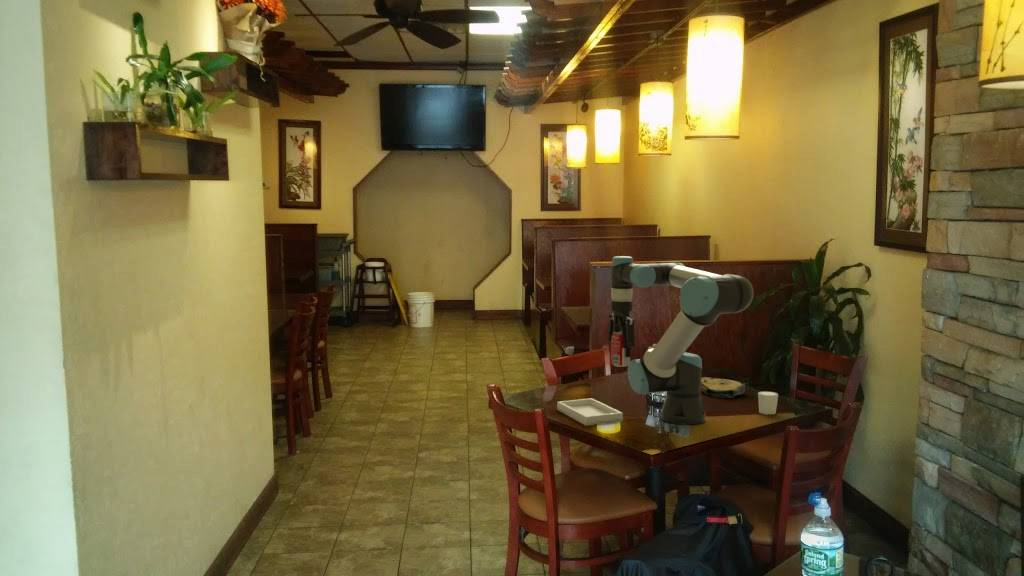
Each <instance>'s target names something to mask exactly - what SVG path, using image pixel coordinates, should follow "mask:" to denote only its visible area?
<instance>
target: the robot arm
mask: <svg viewBox="0 0 1024 576" xmlns="http://www.w3.org/2000/svg"><path fill="white" fill-rule="evenodd" d="M610 275H611V277H610V279H611V280H610V281H611V282H610V283H611V288H610V290H611V293H610V299H611V301H610V311H611V312H613V313H612V314H609V315H608V320H609V324H608V337H607V341H608V342H610V343H611V337H612V335H613V332H614V331H616V332H619V331H622V337H623V343H624V346H623V347H622V348H623V355H622V366H626V367H627V378H628V382H629V385H630V387H631V389H632V390H633V391H634V392H635V393H636V394H638V395H650V394H657V393H663V392H664V393H666V397H665V399H664V402H663V403H662V404H663V405H662V407H661V408H662V409H660V419H661V420H662V421H665V422H666V423H671V424H677V425H697V424H698V425H699V424H702V423H704V422H705V421H706V411H705V407H704V405H703V400H702V391H701V378H702V375H703V374H702V371H703V363H702V357H701V356H700V355H698V354H695V353H692V352H686V351H687V350H688V348H690V346H691V345H692V344H693V342H694V341H695V340H696V338H697V336H698V335H699V334H700V333H701V332H702V330H703V329H704V328H705V327H709V326H711V325H713V324H714V323H715V321H716V320H717V319H718V317H720V315H725V314H726V315H727V314H738V313H740V312H742V311H744V310H746V309H747V308H749V306H750V305H751V303H752V302H753V299H754V288H753V285H752V283H751V281H749V279H747V278H746V277H744V276H742V275H737V274H732V273H727V274H717V273H713V272H709V271H705V270H701V269H696V268H692V267H687V266H686V265H685V264H684V263H681V262H666V263H665V262H664V263H663V262H662V263H634V258H633V257H632V256H628V255H627V256H625V255H622V256H621V255H620V256H619V255H617V256H613V257H612V258H611V274H610ZM633 286H635V287H638V288H648V287H650V286H670V287H674V288H679V289H680V292H679V293H680V295H679V305H680V311H679V312H678V314H677V316H676V317H675V318H674V320H673V321H672V323H671V324H670V326H669V327H668V328H667V330H666V331H665V332H664V334H663V335H662V337H661V338H660V339H659V340H658V342H657V343H656V344H657V345H656V346H655V348H652V349H649V350H648V349H647V350H646V351H645V352H644V354H643V355H642V357H641V358H639V359H638V358H634V359H632V360H631V361H630V351H631V352H632V348H634V347H635V345H636V344H635V318H631V316H630V312H632V311H633V300H632V299H633V293H634V290H633V288H634V287H633Z"/></svg>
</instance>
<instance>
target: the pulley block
mask: <svg viewBox="0 0 1024 576" xmlns="http://www.w3.org/2000/svg"><path fill="white" fill-rule="evenodd" d="M748 389H750V390H754V387H751V386H747V383H741V382H740V381H737V380H731V379H725V378H716V377H710V376H709V377H705V376H704V377H702V376H701V393H704V394H705V395H707V396H710V397H715V398H724V399H726V398H727V399H728V398H730V399H731V398H735V397H737V396H738V395H744V393H745V391H747V390H748Z"/></svg>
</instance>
